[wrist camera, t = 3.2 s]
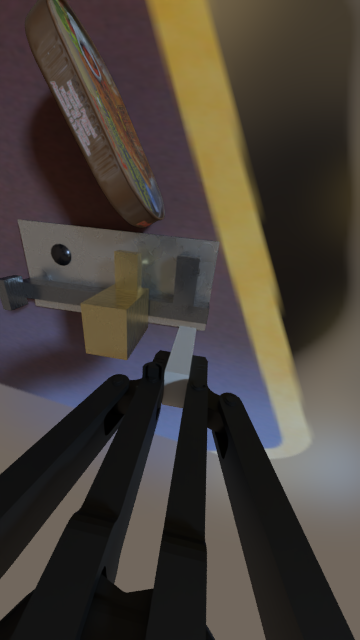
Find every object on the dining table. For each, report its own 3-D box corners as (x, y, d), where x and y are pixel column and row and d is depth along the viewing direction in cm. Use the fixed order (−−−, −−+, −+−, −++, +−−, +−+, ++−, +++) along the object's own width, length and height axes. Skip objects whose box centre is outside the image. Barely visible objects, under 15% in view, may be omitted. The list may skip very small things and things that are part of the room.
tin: (172, 219, 23) (152, 214, 15) (148, 232, 24) (118, 233, 16) (101, 49, 18) (22, -84, 10) (75, 72, 19) (-17, -34, 11)
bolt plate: (24, 219, 25) (17, 219, 24) (218, 241, 23) (219, 242, 22) (41, 303, 30) (35, 305, 29) (204, 327, 28) (204, 331, 27)
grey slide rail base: (20, 234, 25) (-18, 235, 21) (216, 258, 23) (218, 264, 19) (34, 297, 28) (3, 309, 24) (205, 322, 26) (205, 340, 22)
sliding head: (121, 247, 24) (74, 256, 15) (155, 251, 23) (125, 262, 15) (123, 316, 27) (86, 353, 19) (152, 320, 27) (127, 360, 19)
